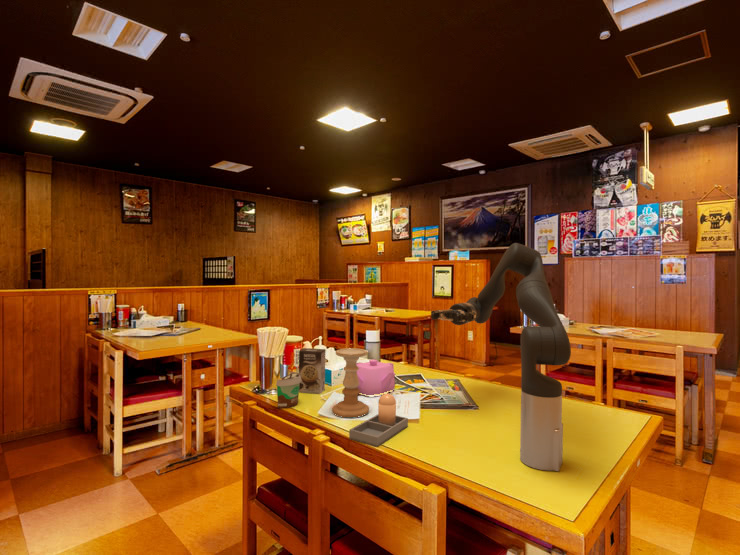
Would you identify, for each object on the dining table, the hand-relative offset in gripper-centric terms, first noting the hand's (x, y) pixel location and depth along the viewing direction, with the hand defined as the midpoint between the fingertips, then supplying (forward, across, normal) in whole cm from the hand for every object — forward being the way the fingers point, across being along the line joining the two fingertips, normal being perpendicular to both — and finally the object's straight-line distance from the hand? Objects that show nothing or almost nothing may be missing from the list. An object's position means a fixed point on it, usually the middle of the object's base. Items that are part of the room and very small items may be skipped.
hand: (444, 317), depth 128 cm
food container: (+20, -48, +32) cm, 61 cm away
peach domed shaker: (+19, -10, +32) cm, 38 cm away
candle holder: (+14, -27, +32) cm, 44 cm away
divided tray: (+23, -10, +32) cm, 41 cm away
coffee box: (+4, -53, +32) cm, 62 cm away
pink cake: (-9, -33, +32) cm, 47 cm away
